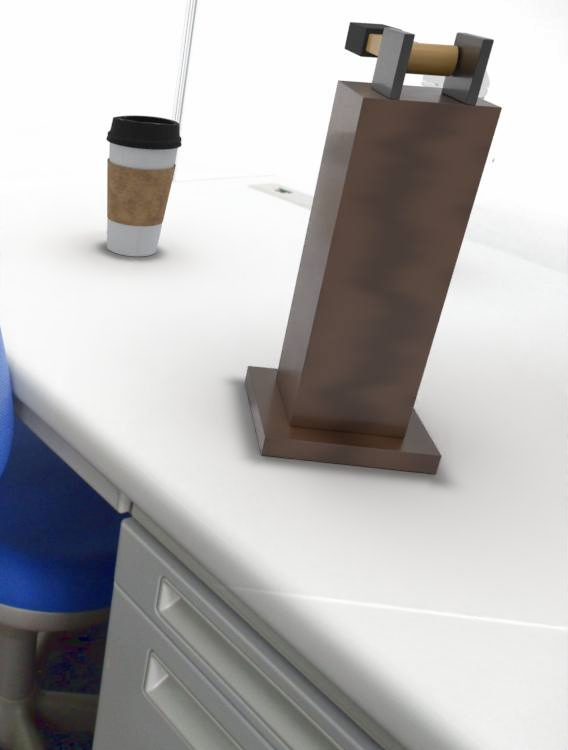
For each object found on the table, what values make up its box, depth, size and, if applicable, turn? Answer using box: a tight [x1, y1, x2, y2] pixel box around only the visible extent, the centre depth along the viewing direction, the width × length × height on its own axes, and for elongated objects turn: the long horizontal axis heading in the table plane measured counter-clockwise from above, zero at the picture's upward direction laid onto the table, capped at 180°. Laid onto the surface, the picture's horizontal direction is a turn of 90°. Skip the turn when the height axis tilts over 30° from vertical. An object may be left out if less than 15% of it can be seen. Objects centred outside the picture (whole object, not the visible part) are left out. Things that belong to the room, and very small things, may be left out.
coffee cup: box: [106, 115, 182, 258], centre depth 99 cm, size 8×8×15 cm
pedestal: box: [244, 27, 503, 475], centre depth 60 cm, size 12×12×28 cm
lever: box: [344, 21, 458, 77], centre depth 61 cm, size 4×18×2 cm, turn 173°
